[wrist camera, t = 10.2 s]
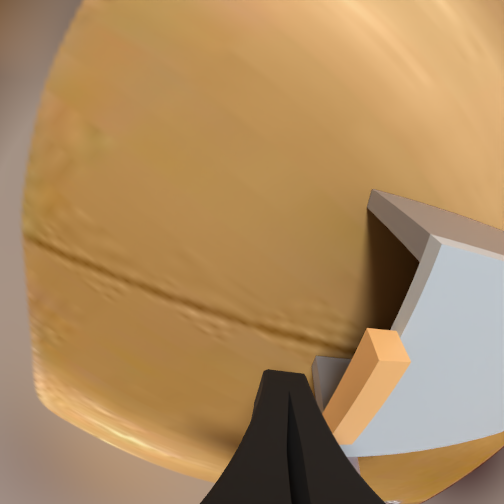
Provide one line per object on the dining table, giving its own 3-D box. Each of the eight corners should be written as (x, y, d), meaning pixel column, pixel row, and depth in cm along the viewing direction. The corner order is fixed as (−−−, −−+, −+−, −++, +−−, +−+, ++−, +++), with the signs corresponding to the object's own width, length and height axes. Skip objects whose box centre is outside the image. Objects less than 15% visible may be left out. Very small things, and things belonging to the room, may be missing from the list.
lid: (499, 424, 14) (508, 442, 12) (298, 444, 13) (300, 476, 11) (589, 286, 9) (607, 302, 7) (399, 226, 8) (428, 254, 7)
